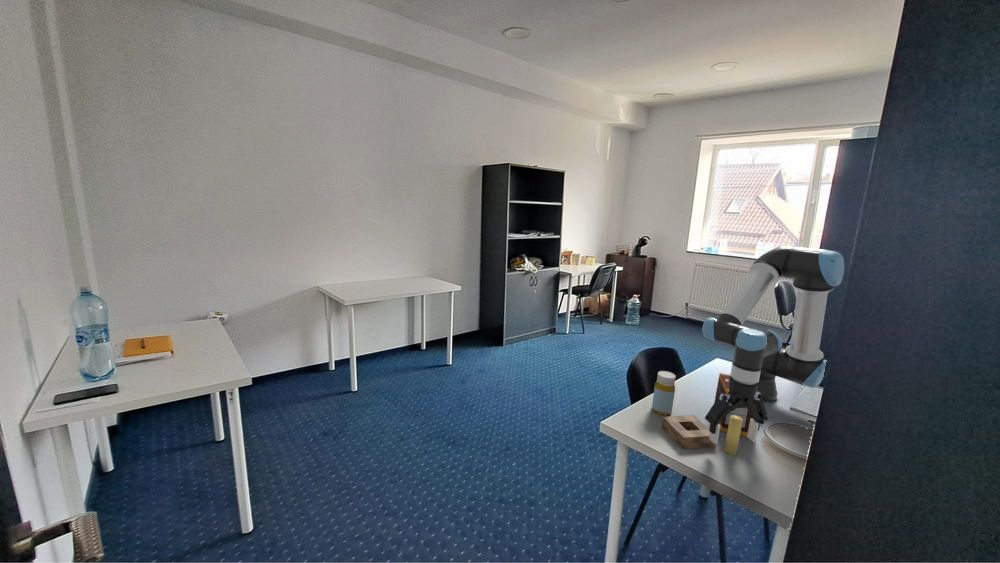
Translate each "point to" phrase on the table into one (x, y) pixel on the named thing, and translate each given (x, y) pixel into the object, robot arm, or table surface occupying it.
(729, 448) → the peg
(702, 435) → the socket block
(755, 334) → the robot arm
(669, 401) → the bottle
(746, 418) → the supplement box
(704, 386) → the table surface
